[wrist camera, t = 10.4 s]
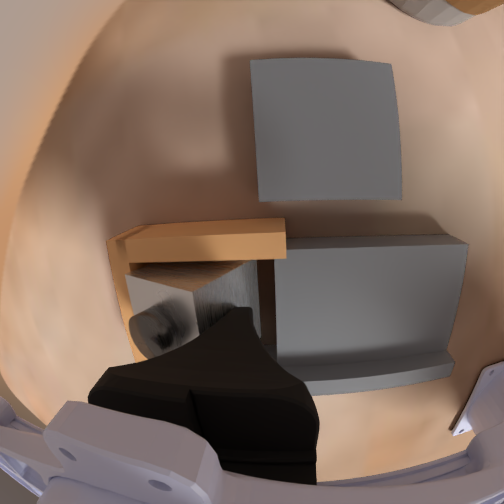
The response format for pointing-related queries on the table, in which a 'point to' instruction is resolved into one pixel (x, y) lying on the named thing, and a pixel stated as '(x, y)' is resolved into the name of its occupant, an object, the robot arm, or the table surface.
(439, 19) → the coffee cup
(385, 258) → the rail
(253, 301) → the metal block
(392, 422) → the table surface
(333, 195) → the gray square block
